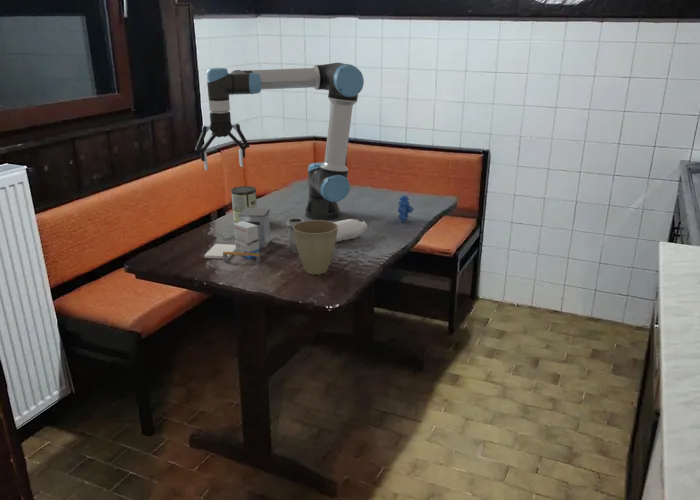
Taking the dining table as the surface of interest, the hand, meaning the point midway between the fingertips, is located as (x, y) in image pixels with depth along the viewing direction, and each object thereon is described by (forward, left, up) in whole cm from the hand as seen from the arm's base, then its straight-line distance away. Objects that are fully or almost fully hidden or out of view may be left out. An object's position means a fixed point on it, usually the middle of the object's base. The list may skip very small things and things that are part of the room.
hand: (224, 167), depth 236 cm
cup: (-31, +14, -27) cm, 43 cm away
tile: (-3, +19, -27) cm, 34 cm away
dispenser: (-13, +16, -27) cm, 34 cm away
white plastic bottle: (-46, 0, -28) cm, 53 cm away
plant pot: (-41, +32, -28) cm, 59 cm away
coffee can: (-1, -18, -28) cm, 33 cm away
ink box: (-13, +20, -28) cm, 37 cm away
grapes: (-69, -25, -27) cm, 79 cm away
